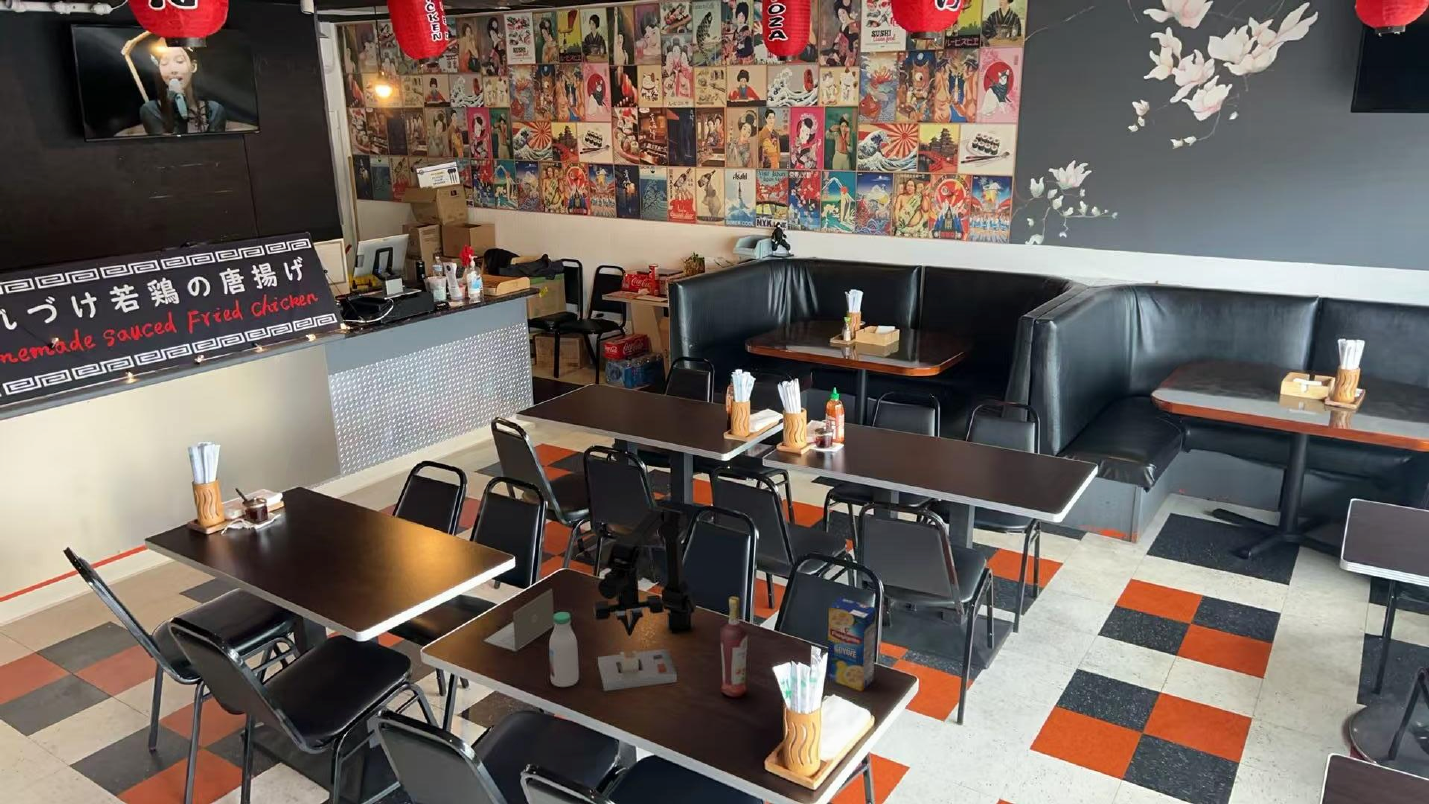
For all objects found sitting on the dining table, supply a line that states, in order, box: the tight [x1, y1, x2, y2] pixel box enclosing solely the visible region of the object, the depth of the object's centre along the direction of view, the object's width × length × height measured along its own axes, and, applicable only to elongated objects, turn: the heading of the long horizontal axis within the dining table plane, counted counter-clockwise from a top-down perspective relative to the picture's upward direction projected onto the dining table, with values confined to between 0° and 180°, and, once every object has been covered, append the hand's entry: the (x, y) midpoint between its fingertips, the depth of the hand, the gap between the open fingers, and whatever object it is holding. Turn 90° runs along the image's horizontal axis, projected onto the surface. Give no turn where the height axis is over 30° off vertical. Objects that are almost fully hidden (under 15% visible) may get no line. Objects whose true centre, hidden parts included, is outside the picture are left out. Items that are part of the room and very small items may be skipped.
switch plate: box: [597, 648, 678, 692], centre depth 284 cm, size 20×14×3 cm
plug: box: [619, 650, 640, 673], centre depth 283 cm, size 4×4×7 cm
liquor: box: [719, 596, 749, 698], centre depth 271 cm, size 7×7×28 cm
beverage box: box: [826, 597, 877, 692], centre depth 278 cm, size 7×11×22 cm, turn 54°
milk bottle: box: [548, 611, 580, 688], centre depth 278 cm, size 8×8×20 cm
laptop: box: [483, 588, 555, 652], centre depth 305 cm, size 18×12×13 cm
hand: (629, 635), depth 281 cm, fingers closed
